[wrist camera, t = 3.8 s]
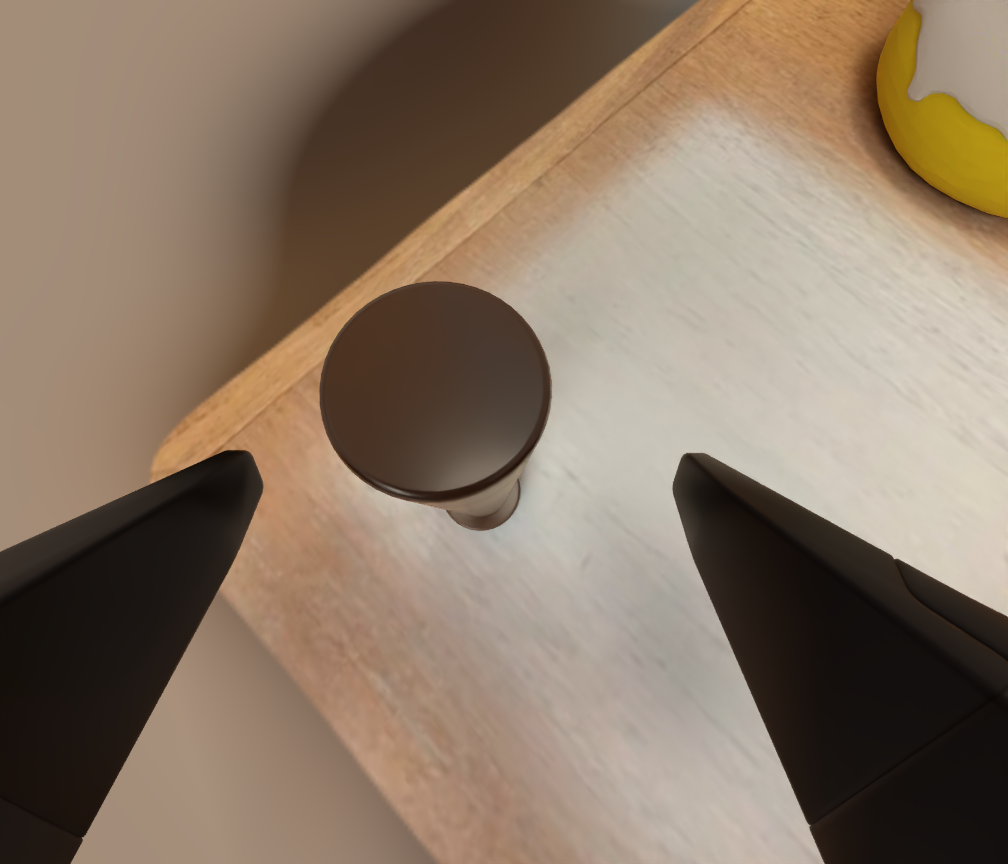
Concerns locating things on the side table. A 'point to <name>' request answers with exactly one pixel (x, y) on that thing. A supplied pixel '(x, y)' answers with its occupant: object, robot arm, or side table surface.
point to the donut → (950, 97)
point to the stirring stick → (438, 399)
